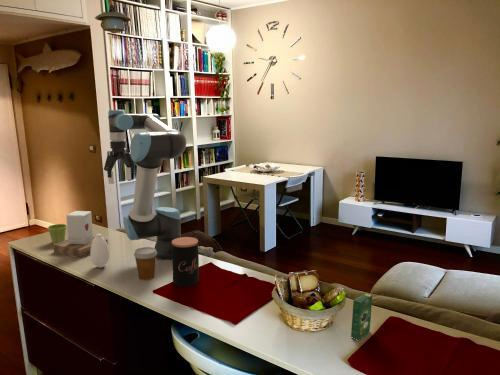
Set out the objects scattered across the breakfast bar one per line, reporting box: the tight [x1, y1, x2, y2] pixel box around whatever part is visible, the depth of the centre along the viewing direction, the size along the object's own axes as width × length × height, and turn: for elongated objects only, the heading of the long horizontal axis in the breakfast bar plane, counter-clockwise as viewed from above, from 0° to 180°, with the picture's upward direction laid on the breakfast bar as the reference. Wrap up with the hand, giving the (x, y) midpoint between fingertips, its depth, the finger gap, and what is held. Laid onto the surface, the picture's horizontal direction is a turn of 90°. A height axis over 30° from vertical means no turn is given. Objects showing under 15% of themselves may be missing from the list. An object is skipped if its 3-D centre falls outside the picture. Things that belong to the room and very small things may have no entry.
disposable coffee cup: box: [133, 246, 157, 281], centre depth 176 cm, size 10×10×12 cm
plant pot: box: [47, 223, 67, 245], centre depth 221 cm, size 9×9×9 cm
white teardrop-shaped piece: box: [89, 228, 110, 269], centre depth 186 cm, size 8×8×18 cm
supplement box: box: [66, 210, 94, 245], centre depth 208 cm, size 9×9×15 cm
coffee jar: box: [171, 236, 200, 288], centre depth 170 cm, size 11×11×18 cm
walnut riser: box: [52, 236, 109, 259], centre depth 210 cm, size 18×18×4 cm
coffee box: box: [350, 292, 373, 341], centre depth 132 cm, size 8×3×13 cm, turn 137°
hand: (120, 181), depth 215 cm, fingers open, 13 cm apart
